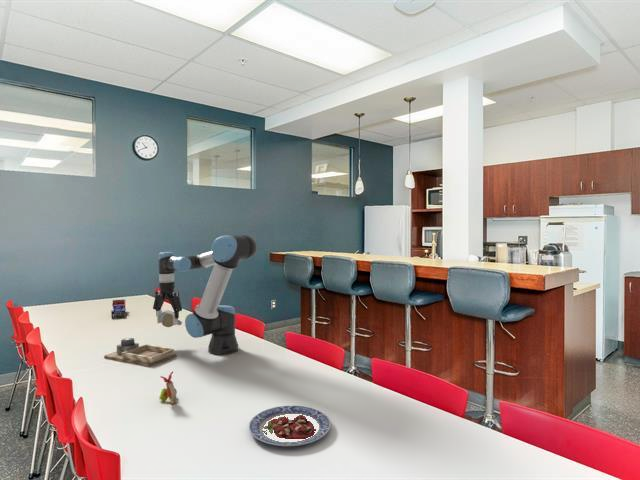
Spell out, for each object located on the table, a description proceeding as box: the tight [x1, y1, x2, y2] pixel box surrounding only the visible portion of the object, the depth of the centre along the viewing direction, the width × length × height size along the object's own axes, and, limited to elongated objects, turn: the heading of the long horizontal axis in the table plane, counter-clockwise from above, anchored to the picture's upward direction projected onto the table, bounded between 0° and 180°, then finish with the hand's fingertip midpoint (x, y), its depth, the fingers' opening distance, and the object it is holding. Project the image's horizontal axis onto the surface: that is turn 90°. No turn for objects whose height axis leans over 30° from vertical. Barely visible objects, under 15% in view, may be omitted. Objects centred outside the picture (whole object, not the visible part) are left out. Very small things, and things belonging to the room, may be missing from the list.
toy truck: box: [110, 299, 127, 319], centre depth 289 cm, size 8×25×11 cm, turn 23°
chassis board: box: [103, 342, 177, 368], centre depth 198 cm, size 29×17×5 cm, turn 67°
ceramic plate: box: [248, 405, 332, 447], centre depth 129 cm, size 26×26×3 cm
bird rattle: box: [158, 371, 178, 405], centre depth 148 cm, size 6×11×9 cm
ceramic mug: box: [160, 310, 183, 328], centre depth 215 cm, size 11×8×8 cm
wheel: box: [120, 337, 135, 346], centre depth 201 cm, size 6×6×6 cm
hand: (167, 323), depth 214 cm, fingers closed on ceramic mug, 10 cm apart
